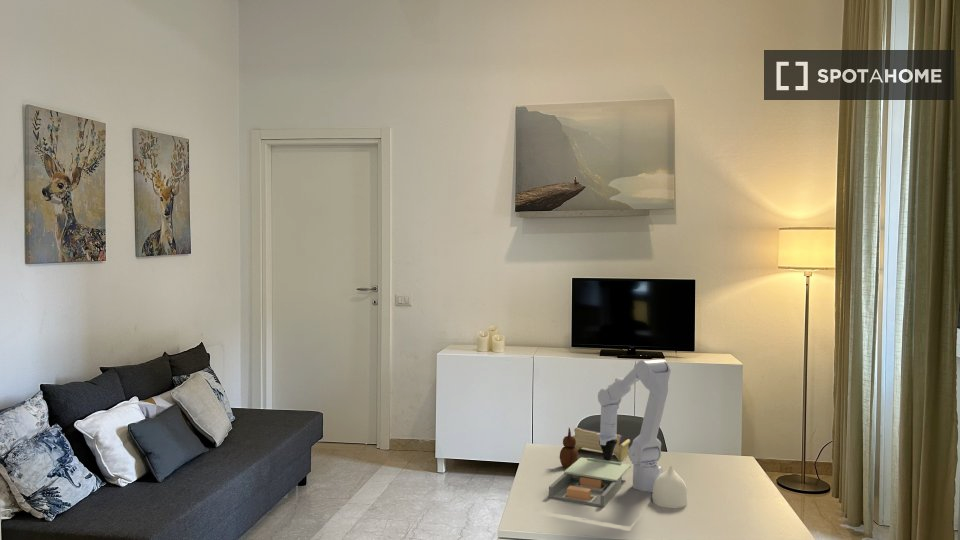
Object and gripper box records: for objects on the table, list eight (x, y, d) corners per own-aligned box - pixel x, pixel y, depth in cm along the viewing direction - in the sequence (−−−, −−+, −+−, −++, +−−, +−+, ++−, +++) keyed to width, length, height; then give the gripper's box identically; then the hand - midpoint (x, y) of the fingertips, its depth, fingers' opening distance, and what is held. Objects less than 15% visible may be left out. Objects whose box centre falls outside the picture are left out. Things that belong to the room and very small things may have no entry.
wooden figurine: (570, 470, 273) (572, 429, 273) (556, 467, 277) (558, 426, 276) (580, 466, 279) (581, 426, 278) (566, 463, 282) (567, 423, 282)
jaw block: (590, 499, 242) (591, 489, 241) (587, 502, 239) (588, 492, 239) (569, 495, 245) (570, 485, 244) (566, 498, 242) (566, 488, 242)
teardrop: (662, 509, 237) (663, 471, 237) (645, 497, 248) (647, 460, 247) (694, 506, 240) (695, 469, 239) (676, 495, 251) (677, 459, 250)
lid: (630, 466, 265) (630, 463, 265) (616, 481, 248) (617, 478, 248) (580, 459, 272) (580, 455, 272) (564, 473, 255) (564, 469, 255)
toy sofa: (630, 456, 294) (631, 430, 293) (622, 462, 286) (623, 435, 286) (579, 448, 304) (580, 422, 304) (570, 453, 297) (571, 427, 296)
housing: (621, 490, 254) (621, 476, 253) (603, 510, 234) (604, 495, 234) (569, 481, 261) (569, 468, 261) (548, 500, 242) (548, 486, 242)
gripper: (603, 417, 278) (602, 453, 279) (591, 425, 265) (590, 464, 266) (622, 419, 275) (621, 456, 276) (611, 428, 262) (610, 467, 263)
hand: (607, 460), depth 271 cm, fingers closed
